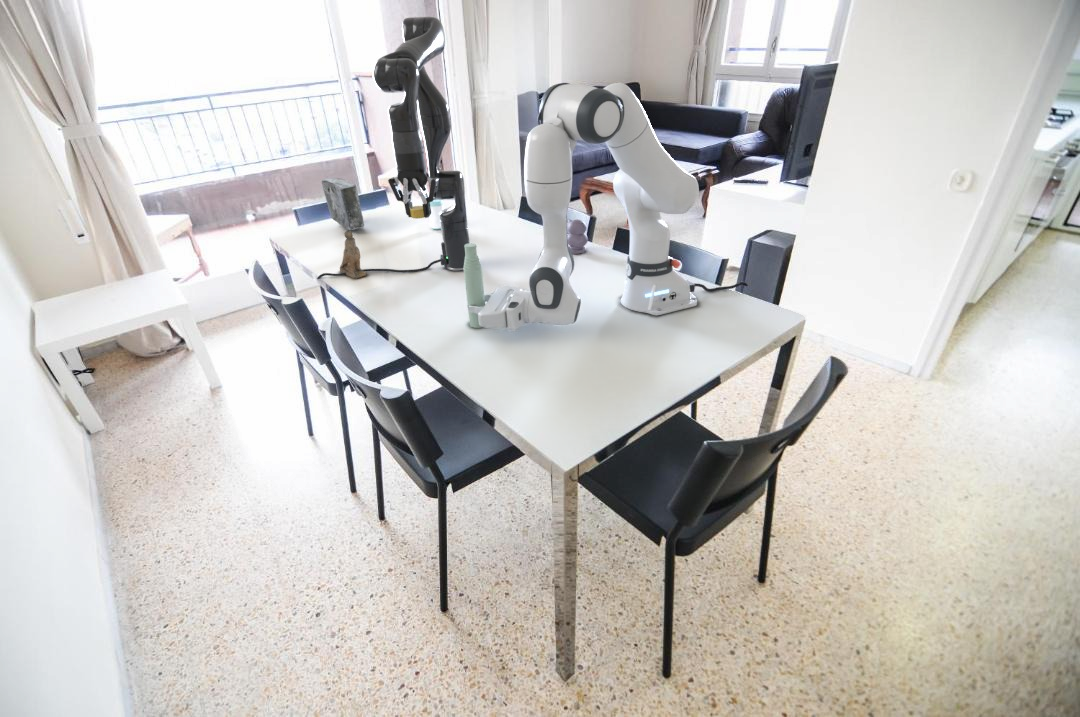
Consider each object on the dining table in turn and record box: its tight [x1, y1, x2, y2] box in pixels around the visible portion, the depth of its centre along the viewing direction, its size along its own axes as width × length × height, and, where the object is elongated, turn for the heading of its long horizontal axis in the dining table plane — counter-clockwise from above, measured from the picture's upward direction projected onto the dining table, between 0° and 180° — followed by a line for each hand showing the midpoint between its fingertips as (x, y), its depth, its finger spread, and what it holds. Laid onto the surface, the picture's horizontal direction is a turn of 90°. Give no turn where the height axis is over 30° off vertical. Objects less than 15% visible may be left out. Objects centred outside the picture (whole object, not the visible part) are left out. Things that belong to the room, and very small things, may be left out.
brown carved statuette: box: [339, 230, 367, 280], centre depth 174 cm, size 12×6×18 cm, turn 43°
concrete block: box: [321, 177, 365, 231], centre depth 223 cm, size 27×9×20 cm, turn 36°
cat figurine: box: [567, 218, 589, 255], centre depth 187 cm, size 9×8×12 cm
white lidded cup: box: [428, 199, 445, 230], centre depth 220 cm, size 7×7×12 cm
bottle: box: [463, 242, 486, 329], centre depth 135 cm, size 5×5×23 cm
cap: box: [410, 205, 425, 220], centre depth 135 cm, size 4×4×2 cm
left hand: (419, 216), depth 136 cm, fingers closed on cap, 4 cm apart
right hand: (473, 303), depth 138 cm, fingers closed on bottle, 5 cm apart
